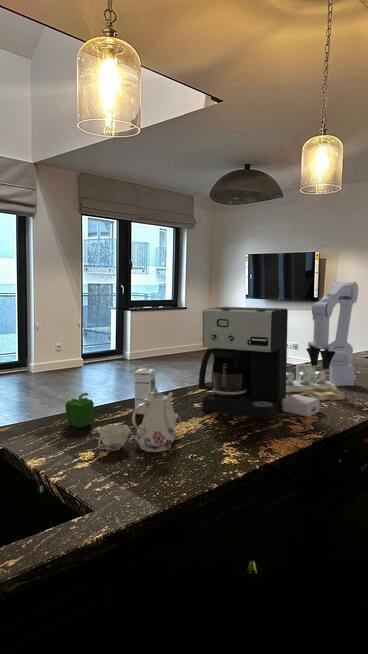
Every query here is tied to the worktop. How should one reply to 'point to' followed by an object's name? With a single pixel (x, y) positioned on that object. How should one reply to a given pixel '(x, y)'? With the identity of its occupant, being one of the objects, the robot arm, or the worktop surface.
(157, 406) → the chinaware
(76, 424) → the bell pepper
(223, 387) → the coffee maker
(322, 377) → the cylinder
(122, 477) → the worktop surface
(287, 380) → the cylinder
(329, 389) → the tray
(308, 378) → the spacer
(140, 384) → the syrup box
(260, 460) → the worktop surface
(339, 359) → the robot arm
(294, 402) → the charger
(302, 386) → the scale
